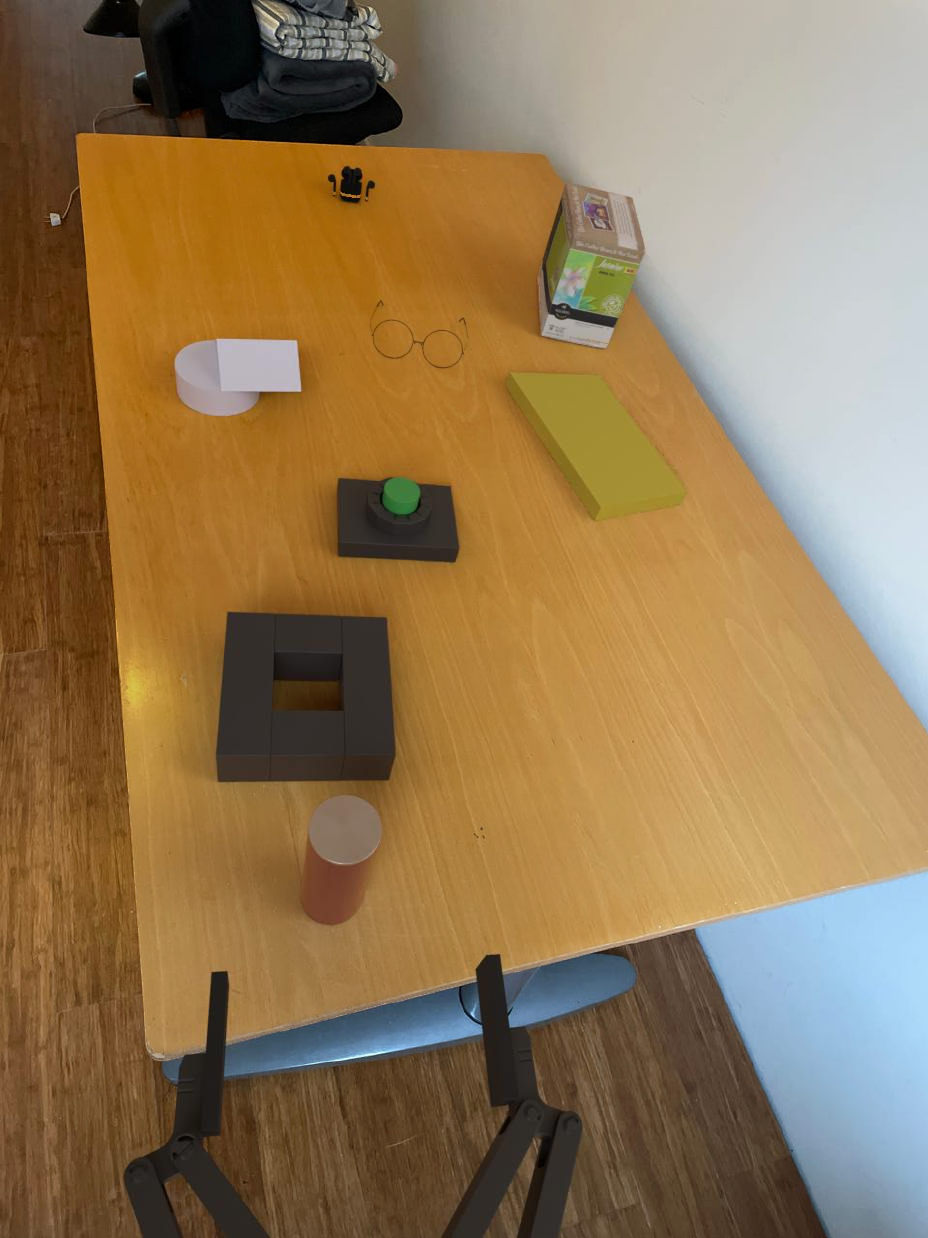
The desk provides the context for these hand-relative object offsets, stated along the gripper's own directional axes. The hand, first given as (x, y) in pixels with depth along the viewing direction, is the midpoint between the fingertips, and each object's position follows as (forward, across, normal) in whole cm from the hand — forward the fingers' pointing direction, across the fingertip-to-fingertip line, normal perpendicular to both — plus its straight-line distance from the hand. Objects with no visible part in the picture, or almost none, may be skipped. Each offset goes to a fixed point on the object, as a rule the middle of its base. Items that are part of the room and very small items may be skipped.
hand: (358, 969), depth 42 cm
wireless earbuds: (+116, +4, -17) cm, 117 cm away
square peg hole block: (+26, -2, -17) cm, 31 cm away
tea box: (+92, +35, -17) cm, 100 cm away
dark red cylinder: (+10, 0, -17) cm, 20 cm away
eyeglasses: (+82, +12, -17) cm, 84 cm away
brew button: (+48, +7, -13) cm, 50 cm away
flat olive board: (+64, +32, -17) cm, 73 cm away
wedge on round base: (+68, -10, -17) cm, 71 cm away
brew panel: (+48, +7, -17) cm, 51 cm away
